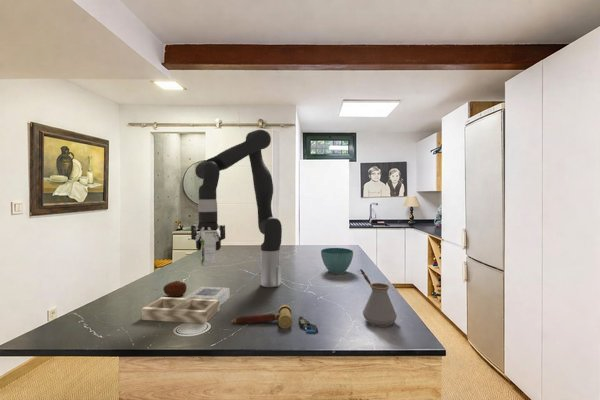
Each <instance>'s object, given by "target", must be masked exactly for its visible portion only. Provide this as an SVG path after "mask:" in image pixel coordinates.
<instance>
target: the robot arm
mask: <svg viewBox="0 0 600 400" xmlns="http://www.w3.org/2000/svg"><path fill="white" fill-rule="evenodd" d="M271 137H272V136H271V134H270V133H269V132H268V131H267V130H266V129H263V128H262V129H255V130H253V131H250V132H248V133H247V134H246V136H245V140H244V141H243V142H241V143H239V144H235V145H233V146H231V147H229V148H226V149H224V150H223V151H221V152H220V153H218V154H216V155H215V156H213V157H210V158H207V159H206V160H203V161H201V162H200V163H198V164H197V165H196V166H195V169H194V170H195V171H194V172H195V175H196V177H197V178H199V179H201V180H203V181H202V185H200V186H199V188H198V205H197V206H198V208H197V210H198V219H197V221H198V224H191V225H190V229H191V230H190V232H191V233H190V239H191V240H194V241H195V246H196V250H197V251H201V233H202V230H216V234H215V233H214V232H213V231H212V236H213V237H215V240H216V251H220V249H221V248H222V240H225V239H226V225H225V224H221V225H220V224H218V201H217V188H218V184H219V181H220V180H219V179H220V174H221V173H220V172H221V171H224V170H227V169H229V168H230V167H233V165H235V164H237V163H238V162H240V161H241V160H244V158H246V157H248V158H249V163H250V168H251V174H252V180H253V181H252V183H253V189H254V190H253V191H254V194H255V202H256V206H257V207H256V208H257V225H258V229H259V232H260V233H261V234H262V235H264V236H263V243H261V244H260V286H261V287H264V288H275V287H276V288H278V287H279V286H280V285H281V283H282V280H281V279H282V276H281V275H282V272H281V271H282V265H281V262H280V261H281V260H280V257H281V253H280V252H281V245H282V233H283V228H282V222H281V220H280V219H278V218H277V217H274V216H273V213H272V201H273V196H274V184H273V177H272V174H271V172H270V170H269V169H268V167H267V166H266V164H265V162H264V159H263V153H262V150H265V149H267V148H268V147H269V146H270V145H271V141H272V138H271ZM197 230H199V232H198V231H197ZM217 230H218V231H219V232H218V231H217ZM197 232H198V233H197Z"/></svg>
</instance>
